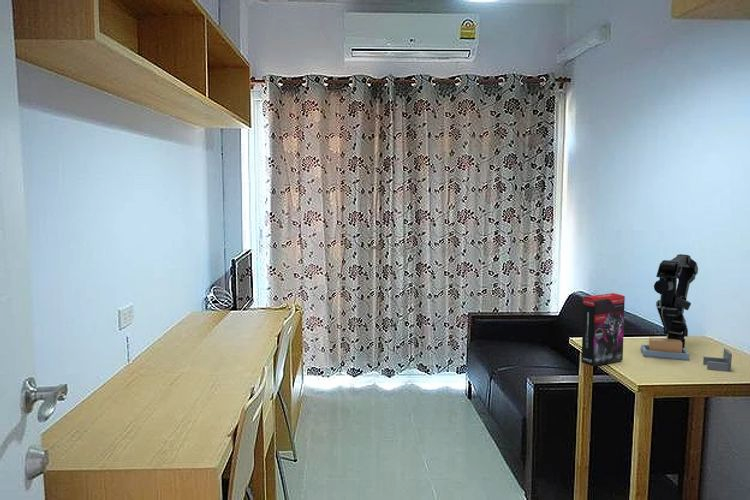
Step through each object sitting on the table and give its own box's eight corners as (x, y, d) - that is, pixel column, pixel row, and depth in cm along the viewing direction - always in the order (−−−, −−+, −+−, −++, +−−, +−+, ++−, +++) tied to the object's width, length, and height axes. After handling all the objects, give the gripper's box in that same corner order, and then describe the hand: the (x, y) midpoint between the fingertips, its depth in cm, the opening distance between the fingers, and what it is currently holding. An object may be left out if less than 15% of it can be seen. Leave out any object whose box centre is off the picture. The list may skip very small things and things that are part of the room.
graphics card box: (592, 367, 237) (596, 299, 233) (579, 362, 243) (582, 295, 239) (623, 361, 244) (626, 295, 241) (609, 357, 251) (612, 292, 247)
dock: (707, 369, 235) (708, 352, 234) (702, 363, 243) (704, 346, 242) (730, 371, 233) (731, 353, 232) (725, 365, 240) (726, 348, 239)
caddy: (649, 354, 253) (650, 340, 253) (648, 351, 258) (649, 337, 257) (681, 356, 250) (682, 342, 249) (679, 353, 255) (680, 339, 254)
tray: (643, 356, 252) (644, 350, 251) (640, 350, 261) (641, 344, 261) (689, 360, 247) (689, 354, 246) (684, 353, 256) (684, 348, 256)
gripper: (694, 296, 240) (691, 334, 241) (685, 288, 257) (683, 324, 259) (664, 294, 243) (661, 332, 245) (657, 286, 261) (654, 322, 262)
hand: (666, 327), depth 253 cm, fingers open, 9 cm apart
